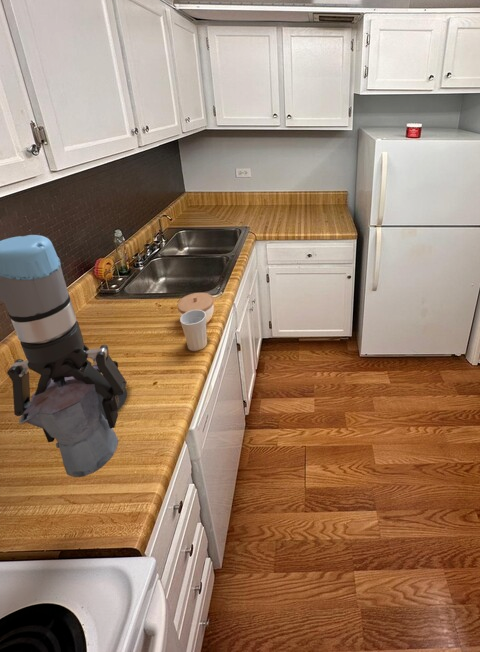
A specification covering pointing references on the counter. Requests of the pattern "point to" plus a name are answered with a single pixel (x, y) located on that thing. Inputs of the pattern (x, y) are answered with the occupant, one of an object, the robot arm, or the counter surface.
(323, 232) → the counter surface
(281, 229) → the counter surface
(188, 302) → the lidded bowl
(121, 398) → the trivet
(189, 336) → the cup
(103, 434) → the moka pot
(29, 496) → the counter surface
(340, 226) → the counter surface
